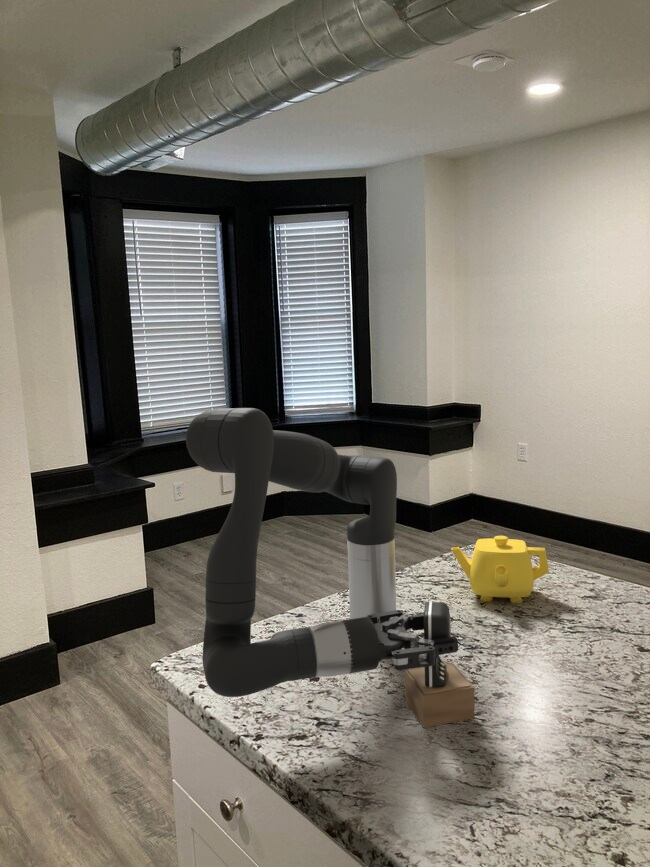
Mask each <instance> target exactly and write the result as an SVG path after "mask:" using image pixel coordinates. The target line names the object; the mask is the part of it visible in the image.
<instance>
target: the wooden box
mask: <svg viewBox="0 0 650 867" xmlns="http://www.w3.org/2000/svg"><path fill="white" fill-rule="evenodd" d="M444 664H445V665H446V667H447V674H446V685H445V686H443V687H427V686H425V667H420V668H413V669H405V670H404V698H405V702H406V703H407V705H408V706H409V707H410V709H411V710H412V712H413V713H414V715H415V716H416V717H417V719H418V721H419V722H420V724H421V725H422V727H423V728H430V727H434V726H440V725H446V724H451V723H456V722H462V721H468V720H473V719H475V686H474V685H473V684H472V683H471V682H470V681H469V680H468V679H467V677H466V676H465V675H464V674H463V673H462V672H461V671H460V670H459V669H458V667H457V666H456V665H455V664H454V663H453V662H446V663H444Z"/></svg>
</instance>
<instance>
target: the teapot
mask: <svg viewBox="0 0 650 867" xmlns="http://www.w3.org/2000/svg"><path fill="white" fill-rule="evenodd" d="M475 542H476V543H475V546H474V548H473V549H474V550H473V552H472V555H471V559H470V558H469V557H468V556H467V555H466V553H464V551H462V549H461V548H460V546H455V547H451V552H452V554H453V555H454V557H455V559H456V560H457V563H458V564H459V565H460V567H461V569H462V570H463V572H464V574H465V575H466V577H467V579H469V580H468V581H469V585H470V588H471V590H472V592H473V593H474V594H475V595H479V596H480V598H479V600H480V601H481V602H487V603H488V602H492V601H493V598H494V597H495V598H509V600H510V602H511V603H513V604H522V603H523V602H524V601H523V598H526V597H530V595H531V593H532V592H533V590H534V589H533V588H534V583H535V581H536V580H537V579H539V578H541V577H543V576H545V575H547V574H549V573H550V570H549V563H548V557H547V552H546V547H538V546H537V547H532V546H527V544H526V541H524V540H522V539H512V538H509V537H508V536H505V535H496V536H494V537H493V538H489V537H488V538H479V539H477V541H475ZM531 556H538V561H539V562H538V563H539V564H538V565H536V566H534V567H533V562H532V559H531Z"/></svg>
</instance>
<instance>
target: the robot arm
mask: <svg viewBox="0 0 650 867" xmlns="http://www.w3.org/2000/svg"><path fill="white" fill-rule="evenodd" d="M185 443H186V448H187V451H188V454H189V456H190V458H191V459H192V461H194V462H195V464H197V465H198V466H199V467H201V469H203V470H205V471H208V472H212V473H221V474H223V473H224V474H234V493H233V500H232V503H231V507H230V508H229V512H228V514H227V517H226V519H225V521H224V523H223V525H222V527H221V529H220V530H219V532H218V533H217V536H216V538H215V540H214V542H213V544H212V546H211V548H210V551H209V554H208V557H207V562H206V563H207V564H206V568H205V569H206V570H205V595H204V596H205V601H204V602H205V603H204V604H205V614H206V617H205V625H204V633H203V644H202V667H203V672H204V677H205V681H206V683H207V686H208V687H209V689H210V690H211V691H212V692H213V693H215V694H216V695H219V696H221V697H227V698H237V697H239V698H240V697H244V696H249V695H252V694H256V693H258V692H261V691H264V690H267V689H270V688H273V687H276V686H277V685H280V684H282V683H285V682H293V681H300V680H305V679H307V680H308V679H311V678H319V677H320V678H323V677H328V678H329V677H336V676H342V675H349V674H356V673H361V672H367V671H373V670H376V669H377V668H379V667H378V666H379V664H380V662H381V661H382V660H392V661H393V670H394V671H403V670H404V671H405V670H409V669H415V668H421V667H428V666H434V665H435V656H436V655H439V656H441V655H449V654H455V653H457V652H458V651H459V639H458V638H457V637H456V636H455V635H451V636H450V637H444V638H438V639H432V640H428V639H424V638H421V637H420V636H419V635H418V634H415V633H410V632H411V630H412V631H414V632H415V631H421V630H424V613H419V614H413V615H411V614H410V613H404V612H403V610H402V609H397V586H396V585H397V584H396V582H397V581H396V550H395V549H396V548H395V547H396V546H395V542H396V541H395V531H396V530H395V529H396V523H397V492H398V491H397V490H398V477H397V476H398V474H397V470H396V466H395V464H394V462H393V461H392V460H391V459H389V458H387V457H379V456H367V455H365V456H364V455H346V454H345V455H343V454H338V453H337V450H336V448H334V447H333V445H331V444H330V443H329V442H327V441H325V440H322V439H321V438H318V437H315V436H312V435H310V434H307V433H302V432H295V431H287V430H277V429H276V430H274V429H273V425H272V422H271V421H270V418H269V417H268V415H267V414H266V413H265V412H264V411H263V410H261V409H259V408H254V407H235V408H230V407H229V408H224V407H223V408H221V407H220V408H212V409H208V410H205V411H203V412H201V413H199V414H198V415H196V417H194V418H193V419H192V420H191V422H190V423H189V425H188V427H187V430H186V434H185ZM269 482H271V483H274V484H276V485H280V486H283V487H287V488H289V489H294V490H298V491H302V492H306V493H318V494H319V493H326V494H327V493H328V494H331V495H332V496H333V497H337V498H338V499H341V500H343V501H345V502H348V503H352V504H359V505H366V506H367V505H369V506H370V508H369V515H367V516H363V517H359V518H357V519H354V520H352V521H350V522H348V524H347V527H346V543H347V544H346V546H347V564H348V565H347V566H348V570H347V571H348V593H349V596H348V597H349V599H348V600H349V619H341V620H336V621H329V622H323V623H319V624H315V625H312V626H308V627H306V626H305V627H299V628H292V629H286V630H281V631H279V632H276V633H274V634H273V635H272V636H271V637H270V639H266V640H261V641H256V642H252V643H251V640H252V639H251V638H252V636H251V635H252V634H251V631H252V624H251V623H252V618H253V616H254V614H255V610H256V596H257V595H256V594H257V591H256V590H257V589H256V588H257V560H258V559H257V558H258V546H259V538H260V532H261V527H262V521H263V516H264V510H265V506H266V501H267V500H266V499H267V494H268V489H269V488H268V487H269ZM424 646H425V647H424ZM424 659H425V660H424Z"/></svg>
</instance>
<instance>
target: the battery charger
mask: <svg viewBox="0 0 650 867" xmlns="http://www.w3.org/2000/svg"><path fill="white" fill-rule="evenodd" d="M423 610H424V611H423V614H424V629H423V639H428V640H432V639H438V638H444V637H450V636H452V635H451V632H452V631H451V614H450V612H451V611H450V607H449V606H448V605H447V604H446V603H445V602H440V601H439V602H438V601H436V602H435V601H432V600H431V601H427V602H425V603H424V609H423ZM423 647H425V646H423ZM423 660H425V659H424V658H423ZM446 674H447V667H446V665H445V663H444V661H443V660H442V659H441V656H440V655H436V656H435V665H434V666H428V667H425V686H427V687H443V686H445V685H446Z"/></svg>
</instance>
